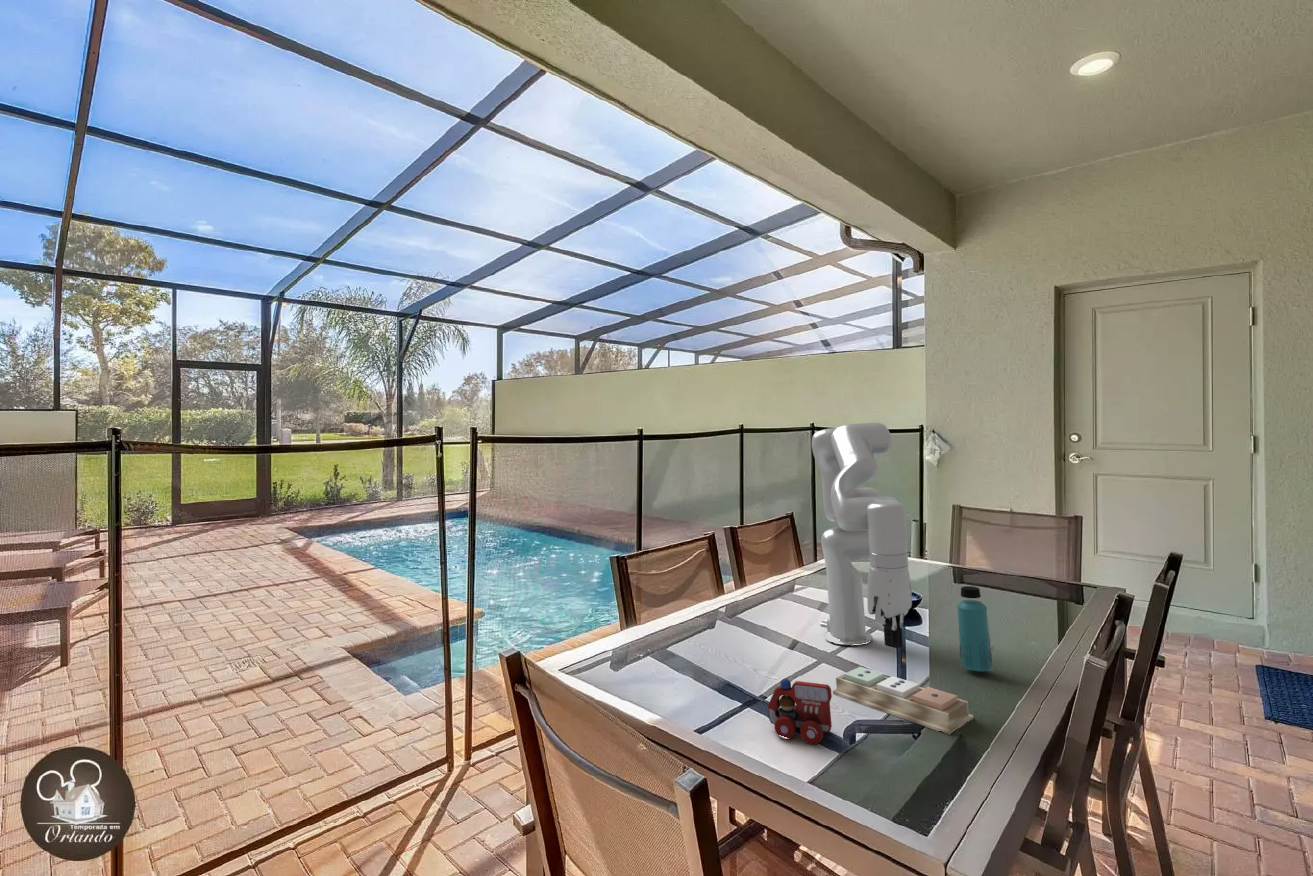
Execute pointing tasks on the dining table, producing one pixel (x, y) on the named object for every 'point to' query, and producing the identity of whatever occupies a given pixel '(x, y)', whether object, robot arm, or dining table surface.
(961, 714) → the tile board
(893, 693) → the three dot tile
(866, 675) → the two dot tile
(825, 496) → the robot arm
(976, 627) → the beverage bottle
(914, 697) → the one dot tile
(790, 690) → the toy fire truck
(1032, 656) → the dining table surface
